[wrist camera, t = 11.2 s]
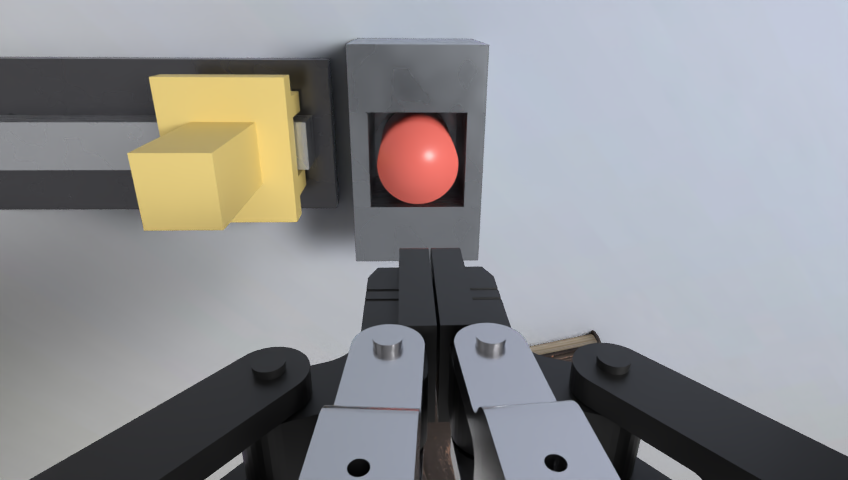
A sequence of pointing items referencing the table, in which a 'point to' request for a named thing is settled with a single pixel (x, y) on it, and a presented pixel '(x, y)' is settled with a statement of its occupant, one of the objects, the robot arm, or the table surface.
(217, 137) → the yellow flanged block
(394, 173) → the button
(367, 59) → the grey button housing
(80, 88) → the rail
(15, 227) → the table surface
